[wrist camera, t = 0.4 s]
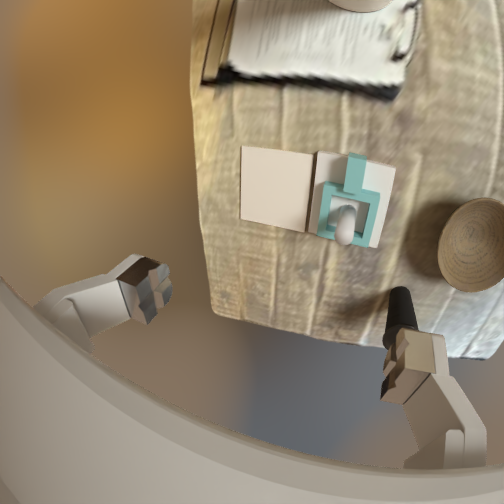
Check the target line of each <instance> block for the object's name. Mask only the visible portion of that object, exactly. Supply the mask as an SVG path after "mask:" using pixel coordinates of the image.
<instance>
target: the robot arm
mask: <svg viewBox="0 0 504 504" xmlns="http://www.w3.org/2000/svg"><path fill="white" fill-rule="evenodd" d="M329 1H330V2H331V3H333V4H335V5H337V6H339V7H341V8H344V9H347V10H351V11H356V12H372V11H377V10H380V9H383V8H385V7H386V6H388V5H389V4H390V3H391V2H392V1H393V0H329ZM169 274H170V273H169V267H168V265H166V264H165V263H162V262H159V261H156V260H153V259H150V258H147V257H144V256H141V255H138V254H132V255H130V256H129V257H128V258H127V259H125V260H124V261H123V262H121V263H120V264H119V265H118V266H116V267H115V268H114V269H113V270H111V271H110V272H109V273H108V274H106V275H105V274H101V275H98V276H95V277H91V278H88V279H85V280H81V281H78V282H75V283H72V284H69V285H65V286H62V287H59V288H56V289H53V290H52V291H51V292H50V293H49V294H47V295H46V296H45V297H44V298H43V299H42V300H40V301H39V302H38V303H37V304H36V305H34V306H33V307H32V306H31V305H30V304H29V303H27V301H25V300H24V299H23V298H22V297H21V296H20V295H19V294H18V293H17V292H16V291H15V290H14V289H13V288H12V287H11V286H10V285H9V284H8V283H7V282H6V280H5V279H4V278H3V277H2V276H1V275H0V504H504V463H503V464H497V465H491V466H486V428H485V426H484V425H483V423H482V421H481V419H480V418H479V416H478V415H477V413H476V411H475V410H474V408H473V406H472V405H471V403H470V402H469V400H468V399H467V397H466V395H465V394H464V392H463V391H462V389H461V388H460V386H459V385H458V384H457V382H456V380H455V379H454V377H451V376H449V367H448V360H447V351H446V344H445V338H444V336H443V335H439V334H433V333H427V332H422V331H417V330H412V329H407V328H401V329H400V330H399V332H398V334H397V336H396V343H394V344H392V345H391V346H390V348H389V350H388V352H387V355H386V358H385V361H384V366H383V373H384V375H385V376H386V378H385V380H384V381H383V383H382V386H381V396H380V400H381V401H385V402H390V403H396V404H401V405H403V408H404V411H405V414H406V416H407V419H408V421H409V424H410V426H411V429H412V431H413V434H414V437H415V439H416V442H417V445H418V447H419V450H420V451H418V452H417V453H415V454H414V455H412V456H410V457H409V458H408V459H406V460H405V461H404V466H403V468H390V467H379V466H371V465H363V464H357V463H350V462H344V461H338V460H333V459H328V458H323V457H319V456H315V455H310V454H306V453H302V452H298V451H294V450H291V449H287V448H284V447H280V446H277V445H274V444H270V443H267V442H264V441H261V440H258V439H255V438H252V437H249V436H247V435H244V434H241V433H238V432H236V431H233V430H231V429H228V428H225V427H223V426H220V425H218V424H215V423H213V422H211V421H209V420H206V419H204V418H202V417H199V416H197V415H195V414H193V413H191V412H189V411H187V410H184V409H182V408H180V407H178V406H176V405H174V404H172V403H170V402H168V401H166V400H165V399H163V398H161V397H159V396H157V395H155V394H153V393H152V392H150V391H148V390H146V389H144V388H143V387H141V386H139V385H137V384H136V383H134V382H132V381H131V380H129V379H127V378H126V377H124V376H123V375H121V374H119V373H118V372H116V371H114V370H113V369H111V368H110V367H109V366H107V365H106V364H104V363H103V362H101V361H100V360H98V359H97V358H95V357H94V356H92V355H91V352H92V351H93V350H94V344H93V343H92V341H91V339H90V338H91V337H93V336H95V335H97V334H99V333H102V332H104V331H106V330H108V329H110V328H112V327H114V326H116V325H118V324H120V323H123V322H125V321H127V320H129V319H130V318H132V319H134V320H137V321H139V322H141V323H143V324H146V325H148V324H149V323H150V322H151V320H152V319H153V318H154V317H155V316H156V315H157V314H158V308H161V307H164V306H165V305H166V304H167V303H168V302H169V300H170V298H171V295H172V283H171V282H170V280H169V279H168V275H169Z"/></svg>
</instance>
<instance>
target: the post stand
mask: <svg viewBox="0 0 504 504" xmlns="http://www.w3.org/2000/svg"><path fill="white" fill-rule="evenodd" d="M347 163H348V156H347V155H342V154H337V153H332V152H326V151H319V152H318V156H317V166H316V175H315V183H314V192H313V199H312V207H311V215H310V222H309V229H308V232H310V233H314V234H317V229H318V222H319V216H320V209H321V202H322V195H323V188H324V184H325V182H326V181H329V182H334V183H339V184H344V183H345V177H346V170H347ZM395 170H396V168H395V166H392V165H388V164H384V163H380V162H375V161H371V160H367V162H366V168H365V174H364V180H363V186H362V189H366V190H371V191H375V192H379V193H380V202H379V206H378V210H377V215H376V219H375V223H374V227H373V231H372V235H371V239H370V242H369V246H370V247H374V248H377V245H378V242H379V238H380V235H381V231H382V227H383V223H384V220H385V216H386V212H387V207H388V203H389V199H390V194H391V190H392V185H393V181H394V176H395ZM368 207H369V203H367V202H363V201H358V200H354V199H349V198H345V197H340V196H335V195H332V199H331V206H330V212H329V218H328V224H327V225H331V226H336V230H335V234H334V238H335V240H336V242H337V243H339V244H341V245H348V244H350V243H351V242H352V240H353V236H354V231H357V232H361V233H363V229H364V225H365V220H366V216H367V212H368Z"/></svg>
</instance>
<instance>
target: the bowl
mask: <svg viewBox="0 0 504 504" xmlns="http://www.w3.org/2000/svg"><path fill="white" fill-rule="evenodd" d="M437 260H438V265H439V269H440V271H441V273H442V276H443V277H444V279H445V280H446V281H447V282H448V283H449V284H450V285H451V286H452V287H454V288H456V289H458V290H460V291H463V292H479V291H483V290H486V289H488V288H490V287H492V286H494V285H496V284H497V283H498V282H500V281H501V280H502V279H503V278H504V204H503V203H501V202H500V201H497V200H495V199H492V198H477V199H473V200H470V201H468V202H466V203H464V204H463V205H461V206H460V207H459V208H458V209H456V210H455V211H454V212H453V213H452V215H451V216H450V217H449V219H448V220H447V222H446V223H445V225H444V227H443V229H442V232H441V234H440V237H439V241H438V247H437Z"/></svg>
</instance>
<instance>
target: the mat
mask: <svg viewBox="0 0 504 504" xmlns="http://www.w3.org/2000/svg"><path fill="white" fill-rule="evenodd" d="M313 157H314V155H312V154H306V153H300V152H293V151H286V150H278V149H270V148H262V147H253V146H242V160H241V219H243V220H248V221H253V222H258V223H263V224H268V225H272V226H277V227H282V228H286V229H291V230H295V231H300V232H305V225H306V218H307V210H308V202H309V194H310V185H311V176H312V167H313Z"/></svg>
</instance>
